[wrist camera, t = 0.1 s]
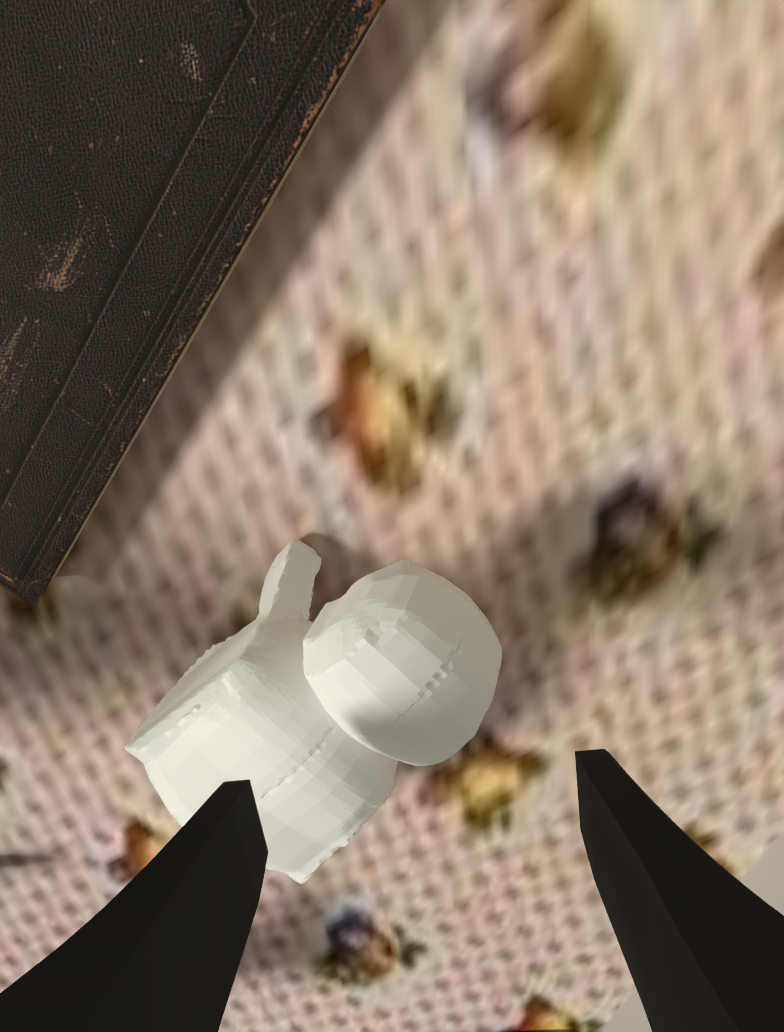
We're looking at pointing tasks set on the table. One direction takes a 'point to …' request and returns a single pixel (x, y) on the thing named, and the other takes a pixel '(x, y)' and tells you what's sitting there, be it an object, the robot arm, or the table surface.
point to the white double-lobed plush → (324, 703)
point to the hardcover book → (131, 218)
